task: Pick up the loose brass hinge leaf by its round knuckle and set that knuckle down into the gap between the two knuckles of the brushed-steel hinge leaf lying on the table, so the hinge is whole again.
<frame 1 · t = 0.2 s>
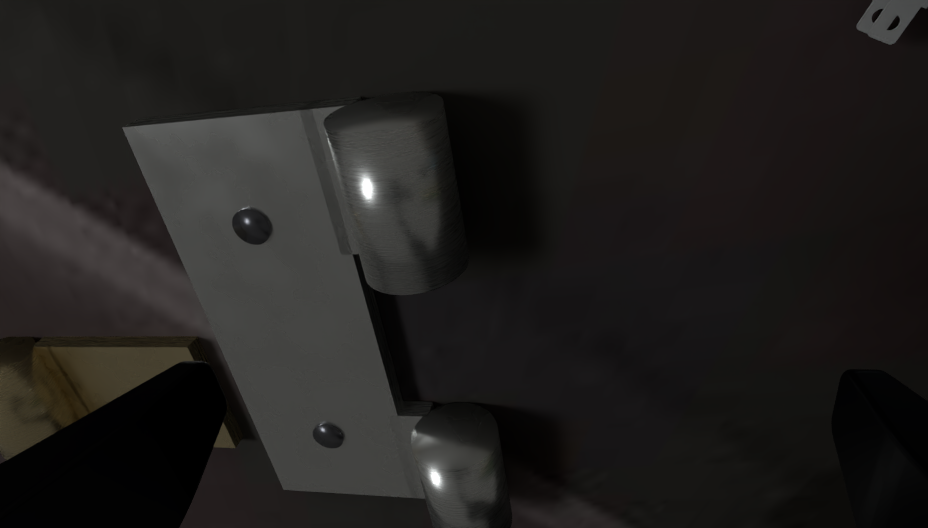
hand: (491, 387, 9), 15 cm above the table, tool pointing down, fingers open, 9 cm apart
brass hinge leaf: (53, 383, 35), on the table
steel hinge leaf: (447, 327, 27), on the table
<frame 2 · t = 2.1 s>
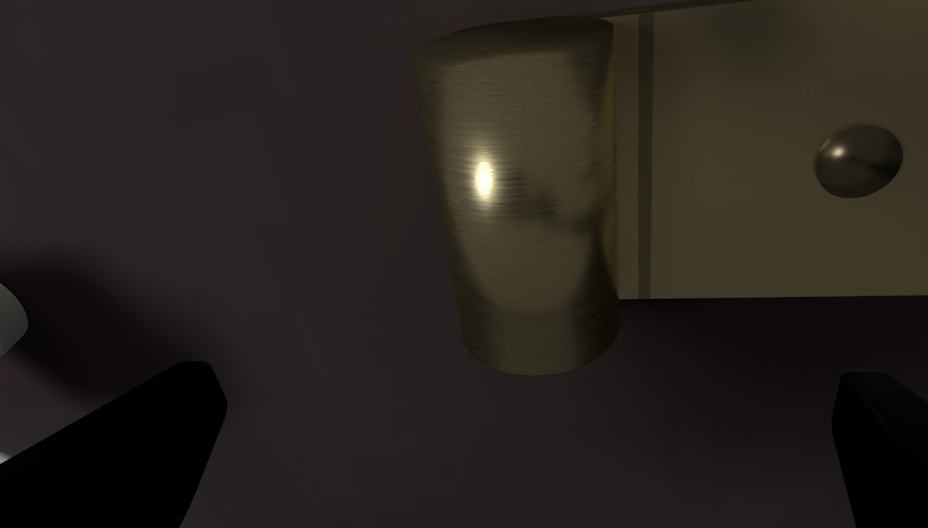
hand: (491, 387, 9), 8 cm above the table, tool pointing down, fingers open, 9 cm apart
brass hinge leaf: (533, 164, 16), on the table
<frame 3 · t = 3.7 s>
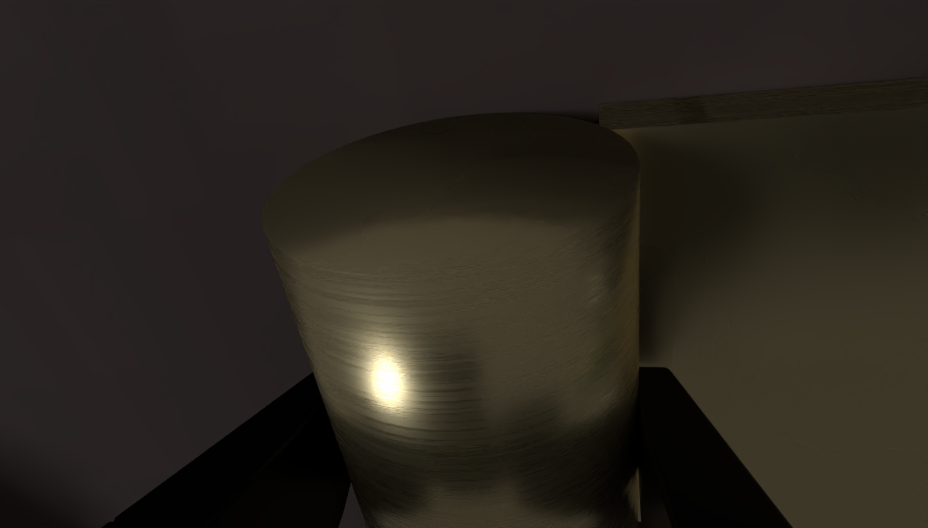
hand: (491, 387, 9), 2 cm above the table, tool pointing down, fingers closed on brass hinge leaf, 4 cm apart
brass hinge leaf: (505, 322, 10), on the table, touching gripper
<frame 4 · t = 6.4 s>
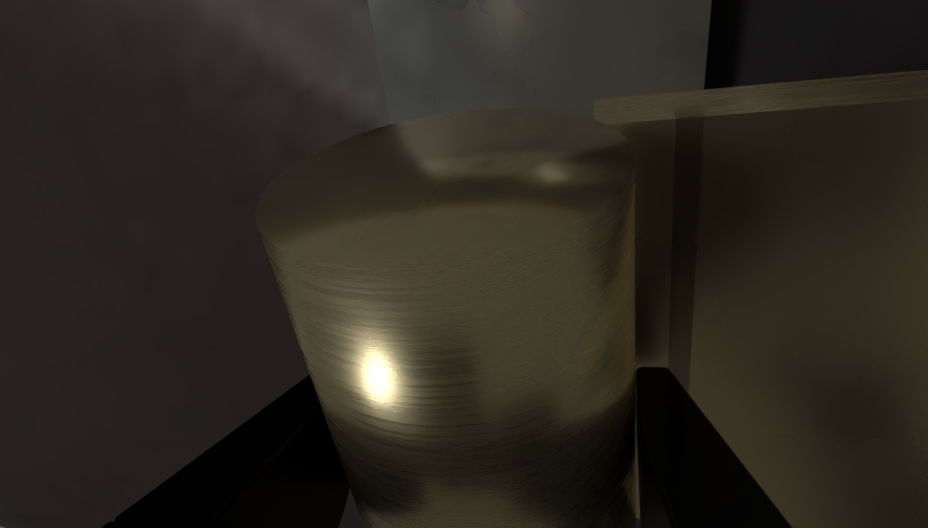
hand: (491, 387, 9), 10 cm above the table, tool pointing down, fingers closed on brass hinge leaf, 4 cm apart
brass hinge leaf: (501, 319, 10), point 9 cm above the table, touching gripper
steel hinge leaf: (828, 64, 15), on the table
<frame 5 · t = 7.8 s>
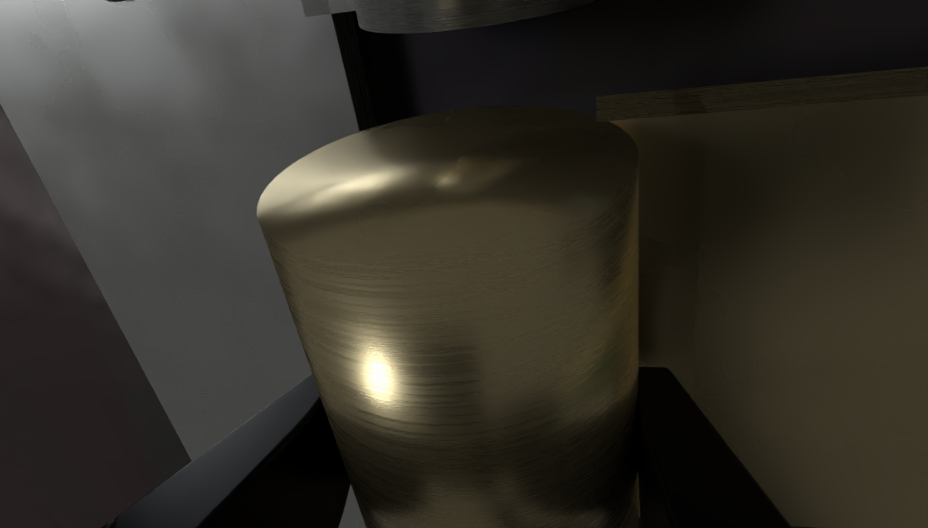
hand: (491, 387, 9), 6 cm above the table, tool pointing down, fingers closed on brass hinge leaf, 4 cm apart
brass hinge leaf: (503, 318, 10), point 4 cm above the table, touching gripper
steel hinge leaf: (527, 207, 13), on the table
when the fingers open (2 cm above the table, at t = 9.1 s): brass hinge leaf drops 1 cm, on the table.
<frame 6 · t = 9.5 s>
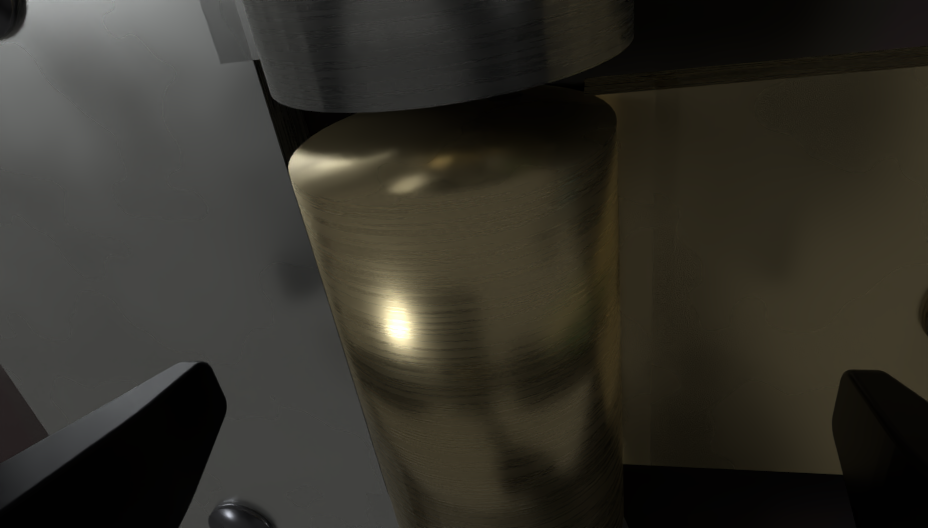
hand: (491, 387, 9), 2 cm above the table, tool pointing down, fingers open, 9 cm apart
brass hinge leaf: (502, 280, 11), on the table
steel hinge leaf: (512, 288, 11), on the table
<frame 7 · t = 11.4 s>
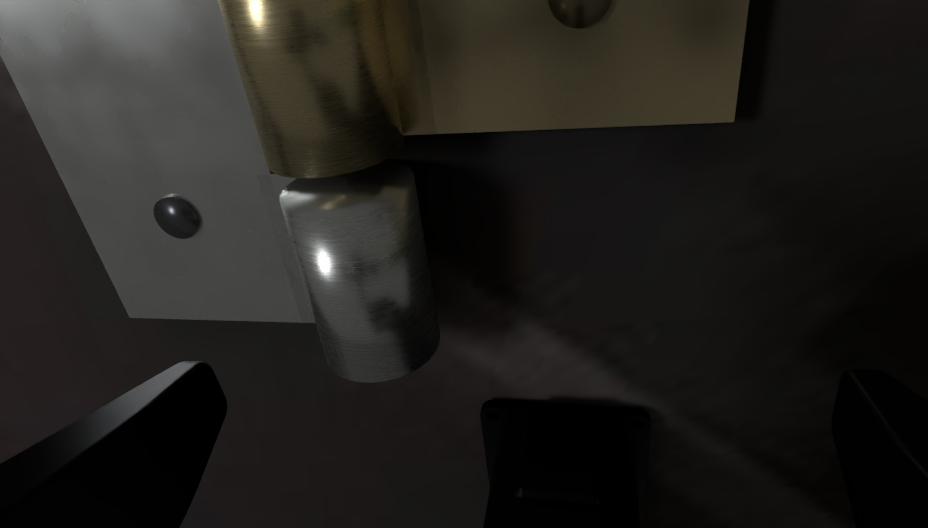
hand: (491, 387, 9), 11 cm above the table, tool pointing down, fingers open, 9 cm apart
brass hinge leaf: (334, 9, 18), on the table
steel hinge leaf: (338, 11, 17), on the table
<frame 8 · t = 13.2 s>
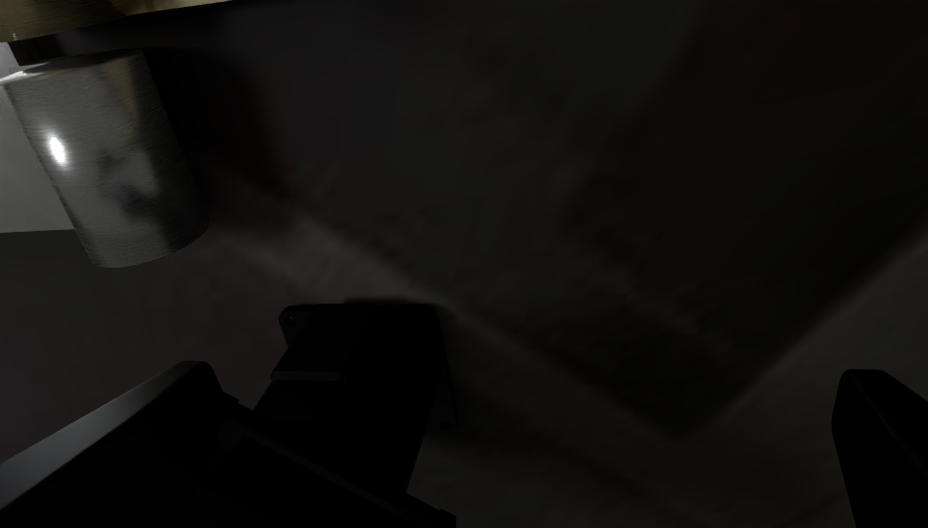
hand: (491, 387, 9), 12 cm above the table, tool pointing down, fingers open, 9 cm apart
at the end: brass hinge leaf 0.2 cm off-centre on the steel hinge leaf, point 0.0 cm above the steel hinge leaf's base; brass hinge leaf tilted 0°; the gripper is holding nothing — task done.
